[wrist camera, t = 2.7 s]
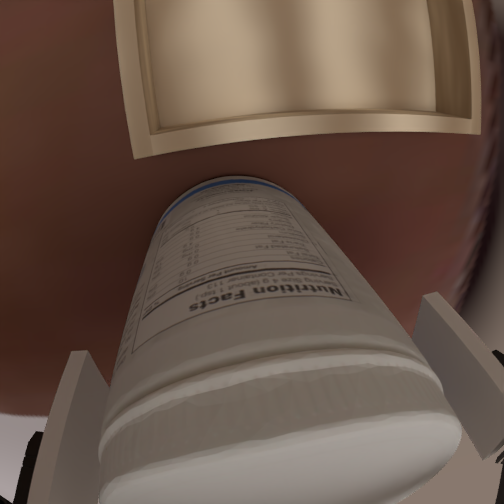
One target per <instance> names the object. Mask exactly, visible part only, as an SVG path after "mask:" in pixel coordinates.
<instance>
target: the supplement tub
mask: <svg viewBox="0 0 504 504" xmlns="http://www.w3.org/2000/svg"><path fill="white" fill-rule="evenodd" d="M461 436H462V427H461V424H460V421H459V419H458V417H457V416H456V414H455V412H454V411H453V409H452V408H451V406H450V404H449V403H448V401H447V400H446V398H445V396H444V392H443V387H442V384H441V382H440V380H439V378H438V377H437V375H436V374H435V372H434V371H433V370H432V369H431V367H430V366H429V364H428V362H427V360H426V359H425V358H424V356H423V355H422V353H421V352H420V351H419V349H418V348H417V347H416V345H415V344H414V343H413V341H412V340H411V338H410V337H409V335H408V334H407V333H406V331H405V330H404V329H403V327H402V326H401V325H400V323H399V322H398V321H397V319H396V318H395V317H394V315H393V314H392V313H391V312H390V310H389V309H388V308H387V306H386V305H385V304H384V303H383V301H382V300H381V299H380V297H379V296H378V295H377V294H376V292H375V291H374V290H373V289H372V287H371V286H370V285H369V284H368V282H367V281H366V280H365V279H364V277H363V276H362V275H361V274H360V272H359V271H358V270H357V269H356V268H355V266H354V265H353V264H352V263H351V261H350V260H349V259H348V258H347V257H346V255H345V254H344V253H343V252H342V251H341V249H340V248H339V247H338V246H337V245H336V243H335V242H334V241H333V240H332V239H331V237H330V236H329V235H328V234H327V233H326V232H325V230H324V229H323V228H322V227H321V226H320V224H319V223H318V222H317V221H316V220H315V219H314V217H313V216H312V215H311V214H310V213H309V212H308V211H307V209H306V208H305V207H304V206H303V205H302V204H301V203H300V202H299V201H298V200H297V199H296V198H295V197H294V196H293V195H292V194H291V193H289V192H288V191H286V190H285V189H283V188H282V187H280V186H278V185H276V184H274V183H272V182H269V181H266V180H263V179H259V178H255V177H248V176H226V177H220V178H215V179H212V180H208V181H206V182H203V183H201V184H199V185H197V186H195V187H193V188H191V189H190V190H188V191H186V192H185V193H184V194H182V195H181V196H180V197H179V198H177V199H176V200H175V201H174V202H173V203H172V204H171V205H170V206H169V207H168V209H167V210H166V211H165V213H164V214H163V216H162V217H161V219H160V221H159V223H158V225H157V227H156V230H155V232H154V235H153V237H152V240H151V243H150V246H149V249H148V252H147V254H146V258H145V261H144V264H143V267H142V270H141V273H140V277H139V280H138V283H137V286H136V289H135V293H134V296H133V299H132V303H131V306H130V310H129V313H128V317H127V320H126V324H125V328H124V331H123V335H122V339H121V343H120V347H119V351H118V355H117V359H116V363H115V367H114V371H113V375H112V380H111V384H110V389H109V393H108V398H107V403H106V408H105V413H104V418H103V424H102V429H101V438H100V441H99V447H98V456H99V462H100V464H101V470H100V483H99V503H100V504H396V503H398V502H399V501H401V500H403V499H405V498H406V497H408V496H410V495H411V494H412V493H414V492H415V491H417V490H418V489H419V488H421V487H422V486H423V485H425V484H426V483H427V482H428V481H429V480H430V479H431V478H433V477H434V476H435V475H436V474H437V473H438V472H439V471H440V470H441V469H442V468H443V467H444V466H445V464H447V462H448V461H449V460H450V459H451V457H452V456H453V454H454V453H455V451H456V449H457V447H458V445H459V442H460V439H461Z"/></svg>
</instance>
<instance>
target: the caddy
mask: <svg viewBox="0 0 504 504" xmlns="http://www.w3.org/2000/svg"><path fill="white" fill-rule="evenodd" d="M113 2H114V17H115V29H116V40H117V50H118V59H119V67H120V75H121V83H122V90H123V97H124V104H125V110H126V117H127V123H128V129H129V134H130V140H131V146H132V151H133V156H134V159H138V158H143V157H148V156H153V155H158V154H164V153H169V152H175V151H180V150H186V149H192V148H198V147H205V146H211V145H218V144H225V143H232V142H240V141H248V140H257V139H266V138H276V137H286V136H298V135H311V134H327V133H346V132H383V131H410V132H446V133H464V134H478V135H480V133H481V80H480V62H479V50H478V40H477V32H476V24H475V17H474V11H473V5H472V0H113Z"/></svg>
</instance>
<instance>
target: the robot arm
mask: <svg viewBox="0 0 504 504" xmlns="http://www.w3.org/2000/svg"><path fill="white" fill-rule="evenodd" d="M412 341H413V343H414V344H415V345H416V347H417V348H418V349H419V351H420V352H421V353H422V355H423V356H424V358H425V359H426V360H427V362H428V364H429V366H430V367H431V369H432V370H433V371H434V372H435V374H436V375H437V377H438V378H439V380H440V382H441V384H442V387H443V392H444V396H445V398H446V400H447V401H448V403H449V404H450V406H451V408H452V409H453V411H454V412H455V414H456V416H457V417H458V419H459V421H460V422H461V424H462V426H463V427H464V429H465V431H466V432H467V434H468V436H469V437H470V439H471V441H472V443H473V444H474V446H475V448H476V449H477V451H478V453H479V455H480V457H481V458H482V460H485V459H487V458H488V457H490V456H491V455H493V454H494V453H496V452H497V451H498V450H499V449H500V448H501V447H502V446H503V445H504V354H502V353H501V352H499V351H497V350H494V351H492V352H491V351H490V350H489V349H488V348H487V346H486V345H485V344H484V343H483V342H482V340H481V339H480V338H479V337H478V336H477V335H476V334H475V332H474V331H473V330H472V329H471V328H470V327H469V326H468V325H467V323H466V322H465V321H464V320H463V319H462V318H461V317H460V316H459V315H458V313H457V312H456V311H455V310H454V309H453V308H452V307H451V306H450V305H449V304H448V303H447V302H446V301H445V299H444V298H443V297H442V296H441V295H440V294H439V293H438V292H434V293H430V294H426V295H423V296H422V301H421V305H420V309H419V313H418V317H417V321H416V325H415V329H414V333H413V336H412ZM109 389H110V388H109V386H108V385H107V383H106V381H105V380H104V378H103V376H102V375H101V373H100V371H99V370H98V368H97V366H96V364H95V362H94V361H93V359H92V357H91V355H90V353H89V352H88V350H84V351H71V354H70V356H69V359H68V362H67V364H66V367H65V370H64V372H63V375H62V378H61V381H60V384H59V386H58V389H57V392H56V395H55V398H54V401H53V404H52V407H51V411H50V414H49V417H48V420H47V424H46V427H45V430H44V432H38V431H36V432H35V434H34V435H33V437H32V438H31V439H30V441H29V442H28V445H27V449H26V453H25V457H24V460H23V467H22V468H21V471H20V475H19V480H18V484H17V489H16V493H15V498H14V501H13V504H97V503H98V495H99V483H100V470H101V464H100V462H99V456H98V447H99V441H100V438H101V429H102V424H103V418H104V413H105V408H106V403H107V398H108V393H109ZM503 457H504V451H503V452H502V453H501V454H500V455H499V456H498V457H497V460H496V462H495V463H498V462H499V461H500V460H501V459H502V458H503ZM501 464H503V468H502V473H501V479H500V484H499V489H498V494H497V499H496V503H495V504H504V459H503V461H502V462H501ZM0 504H12V503H11V502H9V501H8V500H6V499H5V498H3V497H2V496H1V495H0Z"/></svg>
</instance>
